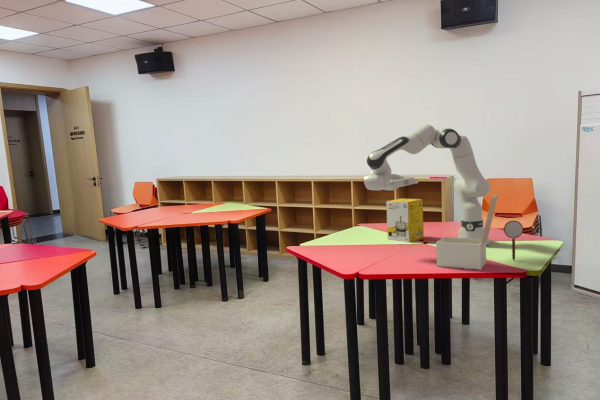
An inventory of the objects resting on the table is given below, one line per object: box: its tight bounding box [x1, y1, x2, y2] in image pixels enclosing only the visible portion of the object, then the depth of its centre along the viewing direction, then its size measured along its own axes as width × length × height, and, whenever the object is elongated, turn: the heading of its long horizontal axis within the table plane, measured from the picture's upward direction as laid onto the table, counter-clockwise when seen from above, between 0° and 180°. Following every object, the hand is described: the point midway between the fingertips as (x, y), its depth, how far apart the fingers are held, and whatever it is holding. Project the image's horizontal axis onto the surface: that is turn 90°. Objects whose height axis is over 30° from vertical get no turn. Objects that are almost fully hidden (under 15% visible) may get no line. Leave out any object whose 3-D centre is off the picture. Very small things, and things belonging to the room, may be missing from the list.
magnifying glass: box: [503, 220, 524, 262], centre depth 215 cm, size 9×2×20 cm, turn 77°
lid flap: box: [480, 193, 499, 245], centre depth 205 cm, size 14×22×1 cm
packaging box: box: [385, 198, 425, 243], centre depth 284 cm, size 16×16×25 cm
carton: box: [435, 236, 487, 271], centre depth 214 cm, size 13×20×12 cm, turn 57°
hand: (417, 181), depth 233 cm, fingers closed
